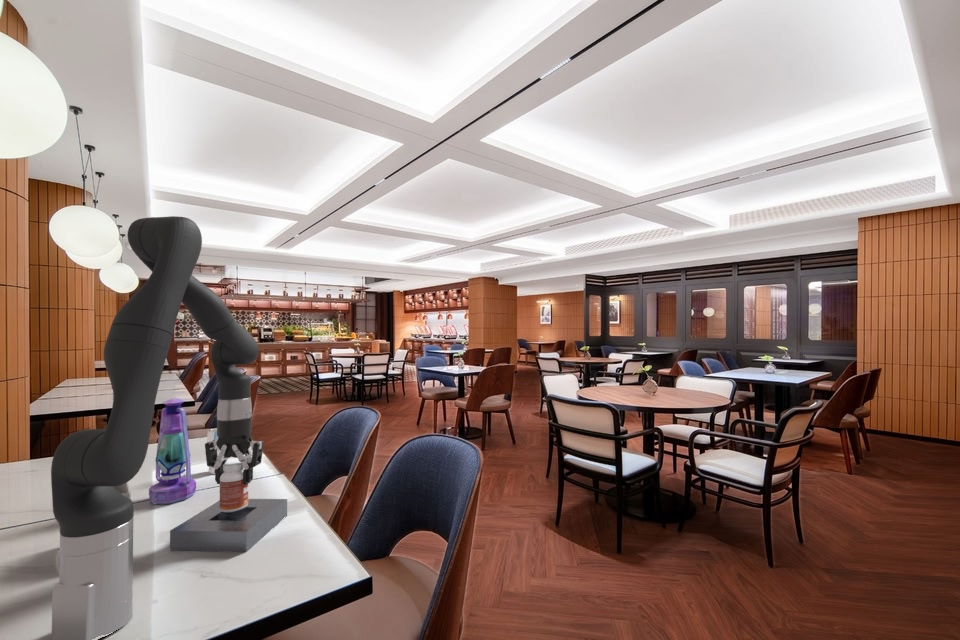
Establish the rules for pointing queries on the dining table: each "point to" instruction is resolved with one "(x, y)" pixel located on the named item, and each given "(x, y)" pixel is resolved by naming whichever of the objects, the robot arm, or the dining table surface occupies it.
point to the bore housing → (228, 527)
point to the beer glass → (213, 436)
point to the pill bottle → (233, 488)
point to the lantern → (172, 457)
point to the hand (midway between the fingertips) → (234, 482)
